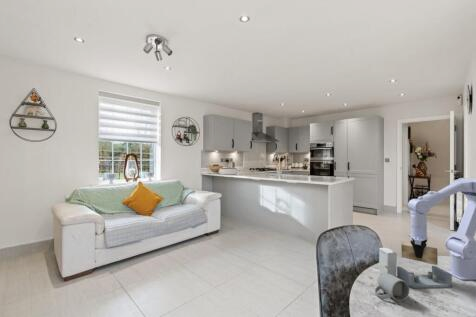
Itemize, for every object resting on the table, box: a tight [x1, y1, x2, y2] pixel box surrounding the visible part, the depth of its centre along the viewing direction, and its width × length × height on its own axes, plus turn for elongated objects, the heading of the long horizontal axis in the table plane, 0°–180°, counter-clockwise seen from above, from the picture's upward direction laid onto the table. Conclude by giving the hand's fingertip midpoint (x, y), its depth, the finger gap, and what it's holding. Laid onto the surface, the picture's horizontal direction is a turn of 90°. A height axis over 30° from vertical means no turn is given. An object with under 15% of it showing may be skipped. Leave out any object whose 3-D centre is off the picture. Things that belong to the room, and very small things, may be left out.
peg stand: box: [396, 265, 453, 289], centre depth 98 cm, size 17×8×5 cm, turn 89°
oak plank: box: [401, 241, 439, 266], centre depth 104 cm, size 12×4×6 cm, turn 47°
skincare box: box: [378, 247, 398, 277], centre depth 103 cm, size 6×4×12 cm
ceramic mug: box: [374, 273, 410, 302], centre depth 89 cm, size 11×8×8 cm
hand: (419, 255), depth 104 cm, fingers closed on oak plank, 4 cm apart
